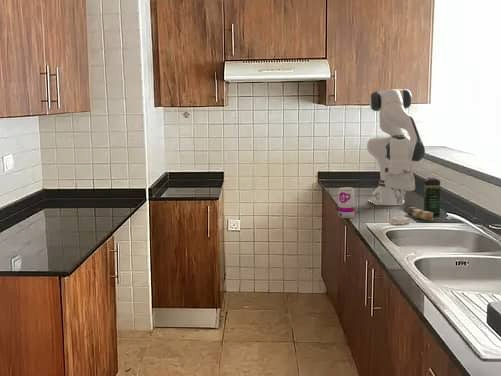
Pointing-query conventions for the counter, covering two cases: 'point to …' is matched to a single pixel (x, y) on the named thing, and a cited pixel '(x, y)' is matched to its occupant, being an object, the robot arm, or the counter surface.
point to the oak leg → (420, 213)
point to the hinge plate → (418, 217)
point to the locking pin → (399, 201)
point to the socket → (399, 220)
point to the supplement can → (346, 202)
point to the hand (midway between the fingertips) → (399, 198)
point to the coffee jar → (432, 195)
